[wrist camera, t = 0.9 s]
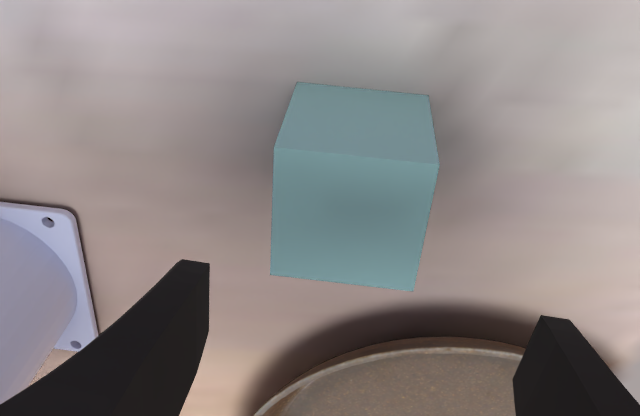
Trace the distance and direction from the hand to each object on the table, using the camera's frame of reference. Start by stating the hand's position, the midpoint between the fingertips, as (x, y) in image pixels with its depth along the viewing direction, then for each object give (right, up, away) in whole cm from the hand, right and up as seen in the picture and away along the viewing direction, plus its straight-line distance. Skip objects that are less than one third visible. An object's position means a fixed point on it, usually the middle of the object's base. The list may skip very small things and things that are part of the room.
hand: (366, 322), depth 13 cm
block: (0, +5, +8) cm, 10 cm away
